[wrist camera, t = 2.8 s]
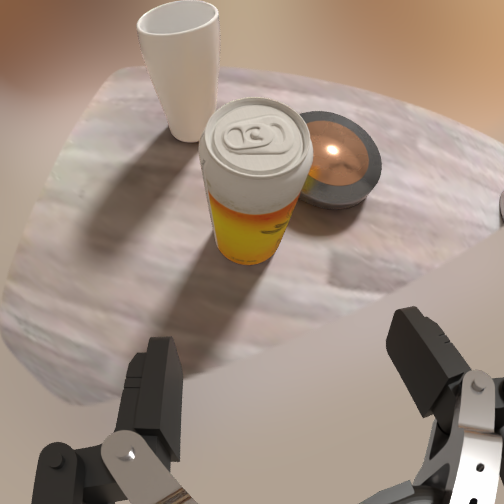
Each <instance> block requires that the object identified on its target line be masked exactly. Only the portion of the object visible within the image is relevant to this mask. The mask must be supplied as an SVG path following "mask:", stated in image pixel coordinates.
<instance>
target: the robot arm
mask: <svg viewBox="0 0 504 504" xmlns="http://www.w3.org/2000/svg"><path fill="white" fill-rule="evenodd" d="M500 207H501V213H502V217H503V220H504V191H503V192H502V195H501V198H500ZM386 349H387V352H388V355H389V356H390V358H391V360H392V362H393V364H394V365H395V367H396V369H397V371H398V372H399V374H400V376H401V378H402V380H403V382H404V383H405V385H406V387H407V389H408V391H409V393H410V394H411V396H412V398H413V400H414V402H415V404H416V406H417V408H418V410H419V412H420V413H421V415H422V417H423V418H425V417H428V416H430V415H432V414H434V416H435V420H434V422H433V425H432V430H431V434H430V439H429V443H428V447H427V451H426V455H425V459H424V462H423V465H422V467H421V469H420V471H419V472H418V474H417V475H416V477H415V479H414V482H413V485H412V484H411V482H410V480H408V481H406V482H403V483H401V484H398V485H396V486H393V487H391V488H387V489H385V490H382V491H379V492H378V493H376V494H374V495H373V496H371V497H370V498H368V499H366V500H364V501H363V502H361V503H359V504H494V502H495V497H496V491H497V486H498V479H499V475H500V477H501V480H502V482H503V485H504V377H503V378H494V379H492V378H491V377H490V376H489V375H488V374H487V373H485V372H483V371H480V370H471V369H470V367H469V366H468V364H467V363H466V361H465V360H464V359H463V357H462V356H461V354H460V353H459V352H458V350H457V349H456V348H455V346H454V345H453V344H452V343H450V340H449V338H448V337H447V336H446V335H445V333H444V332H443V330H442V329H441V328H440V327H439V325H438V324H437V323H435V322H434V321H432V320H431V319H429V318H428V317H424V316H423V314H422V313H421V312H420V311H419V309H417V307H415V306H412V307H407V308H403V309H398V310H396V311H395V313H394V316H393V320H392V323H391V326H390V329H389V333H388V336H387V339H386ZM182 389H183V373H182V367H181V363H180V360H179V357H178V353H177V350H176V346H175V343H174V340H173V337H172V336H170V337H151V338H150V339H149V343H148V348H147V353H137V354H136V355H135V356H134V358H133V359H132V360H131V362H130V363H129V366H128V370H127V374H126V379H125V383H124V390H123V393H122V397H121V403H120V407H119V413H118V418H117V423H116V428H115V430H114V432H113V433H112V434H111V435H109V436H108V437H107V438H106V439H105V440H104V442H103V443H102V444H100V445H97V446H93V447H88V448H82V449H76V450H73V449H72V448H71V447H70V446H69V445H67V444H65V443H61V442H54V443H51V444H49V445H47V446H46V447H45V448H44V449H43V450H42V451H41V453H40V456H39V460H38V465H37V470H36V476H35V482H34V489H33V495H32V503H31V504H115V502H117V501H122V500H129V501H130V503H131V504H198V503H197V502H196V501H195V500H194V499H193V498H192V497H191V496H190V495H189V494H188V493H187V492H186V491H185V489H183V487H182V486H181V485H180V484H179V483H178V482H177V480H176V479H175V478H174V477H173V476H172V475H171V474H170V462H180V435H181V408H182Z"/></svg>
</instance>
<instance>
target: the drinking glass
mask: <svg viewBox="0 0 504 504" xmlns="http://www.w3.org/2000/svg"><path fill="white" fill-rule="evenodd" d="M136 28H137V34H138V39H139V44H140V48H141V53H142V56H143V60H144V63H145V66H146V69H147V71H148V74H149V76H150V79H151V81H152V84H153V86H154V89H155V91H156V94H157V96H158V99H159V101H160V104H161V106H162V109H163V111H164V114H165V116H166V119H167V121H168V125H169V129H170V131H171V133H172V135H173V136H174V137H175V138H176V139H178V140H180V141H183V142H198V141H200V138H201V135H202V133H203V131H204V130H205V128H206V125H207V122H208V120H209V119H210V117H211V116H212V115H213V113H214V112H215V111H216V105H217V89H218V75H219V63H220V23H219V12H218V10H217V8H216V7H215V6H213V5H212V4H210V3H207V2H203V1H196V0H184V1H176V2H171V3H167V4H164V5H161V6H158V7H156V8H154V9H152V10H150V11H148V12H147V13H145V14H144V15H143V16H142V17H141V18H140V19H139V20H138V22H137V25H136Z"/></svg>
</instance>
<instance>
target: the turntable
mask: <svg viewBox="0 0 504 504" xmlns="http://www.w3.org/2000/svg"><path fill="white" fill-rule="evenodd" d="M299 115H300V116H301V117H302V118H303V120H304V121H305V123H306V125H307V127H308V129H309V133H310V139H311V142H312V145H313V162H312V165H311V168H310V170H309V173H308V175H307V178H306V180H305V183H304V185H303V188H302V190H301V193H300V195H299V198H300V199H301V200H303V201H305V202H307V203H309V204H311V205H314V206H316V207H320V208H324V209H345V208H349V207H352V206H354V205H357V204H358V203H360V202H361V201H362V200H364V199H365V198H366V197H367V195H368V194H369V193H370V192H371V190H372V189H373V188H374V187H375V186H376V184H377V182H378V181H379V178H380V175H381V170H382V163H381V157H380V153H379V151H378V148H377V146H376V145H375V143H374V141H373V140H372V138H371V137H370V136H369V135H368V134H367V132H366V131H365V130H363V129H362V128H361V127H360V126H359V125H357V124H356V123H354V122H353V121H351V120H349V119H347V118H345V117H343V116H340V115H338V114H334V113H330V112H323V111H312V112H306V113H302V114H299Z"/></svg>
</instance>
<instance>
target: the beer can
mask: <svg viewBox="0 0 504 504" xmlns="http://www.w3.org/2000/svg"><path fill="white" fill-rule="evenodd" d="M199 158H200V164H201V169H202V175H203V180H204V186H205V191H206V196H207V202H208V207H209V212H210V217H211V222H212V227H213V232H214V237H215V242H216V245H217V247H218V249H219V250H220V252H221V253H222V254H223V255H224V256H225V257H226V258H228V259H229V260H231V261H233V262H235V263H238V264H242V265H254V264H258V263H261V262H264V261H265V260H267V259H268V258H270V257H271V256H272V255H273V254H274V253H275V252H276V250H277V248H278V246H279V244H280V242H281V239H282V237H283V234H284V232H285V230H286V227H287V225H288V222H289V220H290V217H291V215H292V213H293V210H294V208H295V205H296V203H297V200H298V198H299V195H300V193H301V190H302V188H303V185H304V183H305V180H306V178H307V175H308V173H309V170H310V168H311V165H312V162H313V145H312V142H311V139H310V133H309V129H308V127H307V125H306V123H305V121H304V120H303V118H302V117H301V116H300V115H299V114H298V113H297V112H296V111H295V110H293V109H292V108H291V107H289V106H287V105H285V104H284V103H281V102H279V101H276V100H273V99H269V98H262V97H248V98H241V99H237V100H234V101H231V102H229V103H227V104H225V105H223V106H222V107H220V108H219V109H218V110H216V111H215V112H214V113H213V115H212V116H211V117H210V119H209V120H208V122H207V125H206V128H205V130H204V131H203V133H202V135H201V138H200V141H199Z"/></svg>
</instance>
